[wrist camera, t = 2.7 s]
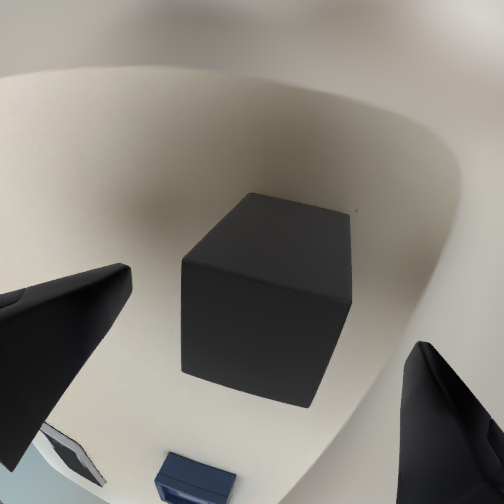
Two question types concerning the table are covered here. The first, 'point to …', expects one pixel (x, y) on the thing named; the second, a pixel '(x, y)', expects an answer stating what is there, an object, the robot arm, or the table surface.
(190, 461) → the blue long open box
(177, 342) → the table surface
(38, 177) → the table surface
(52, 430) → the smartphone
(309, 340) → the block
